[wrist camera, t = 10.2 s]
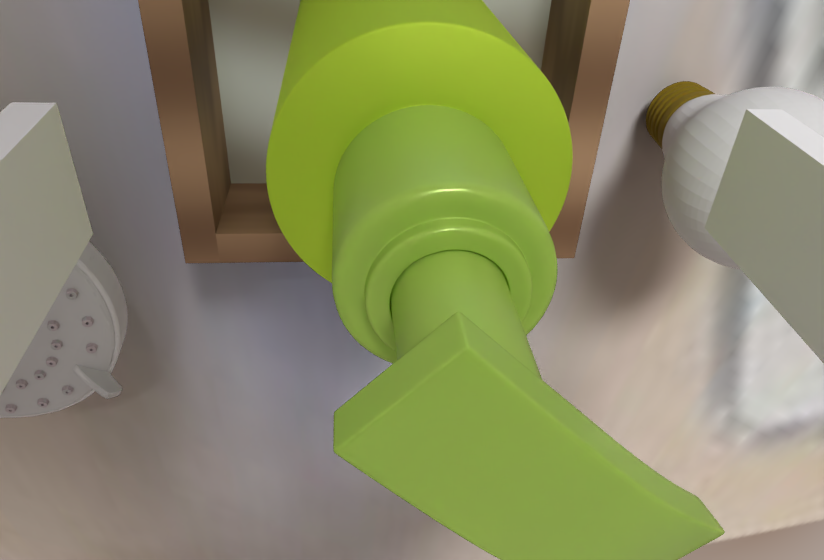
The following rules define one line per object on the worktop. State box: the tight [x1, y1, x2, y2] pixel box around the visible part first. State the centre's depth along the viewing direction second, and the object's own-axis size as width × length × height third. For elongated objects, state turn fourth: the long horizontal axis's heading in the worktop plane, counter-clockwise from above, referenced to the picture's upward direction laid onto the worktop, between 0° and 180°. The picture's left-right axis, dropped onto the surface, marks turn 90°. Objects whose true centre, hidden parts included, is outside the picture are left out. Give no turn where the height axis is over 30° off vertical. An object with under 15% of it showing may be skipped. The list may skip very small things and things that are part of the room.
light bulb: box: [646, 81, 824, 269], centre depth 23 cm, size 6×6×10 cm
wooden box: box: [138, 0, 630, 263], centre depth 22 cm, size 14×14×5 cm
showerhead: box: [0, 242, 128, 418], centre depth 25 cm, size 9×7×10 cm
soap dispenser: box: [266, 0, 725, 560], centre depth 15 cm, size 6×7×20 cm
